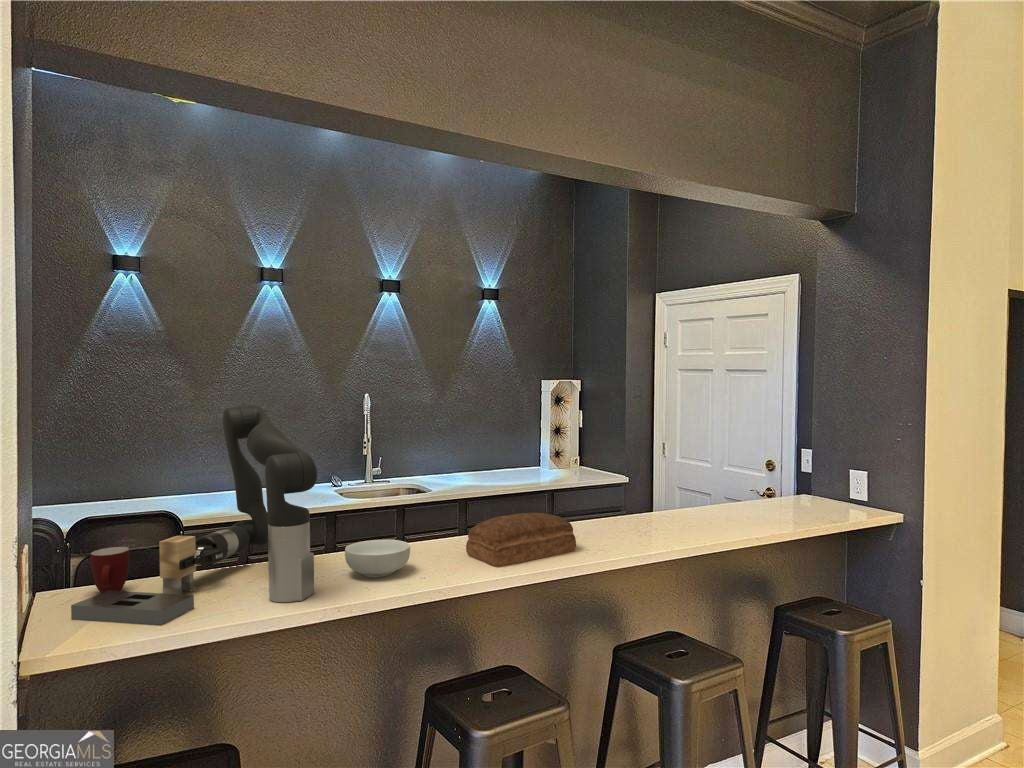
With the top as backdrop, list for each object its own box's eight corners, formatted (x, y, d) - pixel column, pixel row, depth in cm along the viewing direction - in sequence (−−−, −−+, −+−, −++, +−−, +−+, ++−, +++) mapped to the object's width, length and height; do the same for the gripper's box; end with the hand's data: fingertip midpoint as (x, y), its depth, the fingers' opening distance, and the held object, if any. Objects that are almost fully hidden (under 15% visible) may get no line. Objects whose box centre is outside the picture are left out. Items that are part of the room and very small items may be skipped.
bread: (462, 556, 188) (462, 516, 188) (544, 540, 204) (544, 504, 204) (495, 569, 174) (494, 526, 174) (580, 552, 190) (580, 512, 190)
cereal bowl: (420, 575, 169) (420, 548, 168) (357, 587, 160) (356, 558, 160) (396, 560, 183) (396, 535, 183) (337, 570, 175) (336, 543, 174)
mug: (129, 597, 154) (128, 555, 154) (88, 603, 151) (87, 559, 151) (131, 585, 164) (130, 545, 164) (92, 590, 160) (92, 549, 160)
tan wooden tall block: (196, 589, 159) (195, 536, 159) (179, 597, 154) (178, 542, 153) (178, 588, 160) (177, 535, 160) (160, 596, 155) (159, 541, 154)
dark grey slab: (193, 608, 146) (193, 595, 146) (161, 625, 136) (161, 610, 136) (108, 603, 150) (108, 590, 150) (71, 619, 141) (71, 605, 141)
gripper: (191, 531, 172) (143, 548, 156) (240, 533, 170) (197, 550, 153) (192, 560, 172) (143, 579, 156) (241, 562, 170) (197, 582, 153)
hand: (170, 564), depth 154 cm, fingers closed on tan wooden tall block, 5 cm apart
